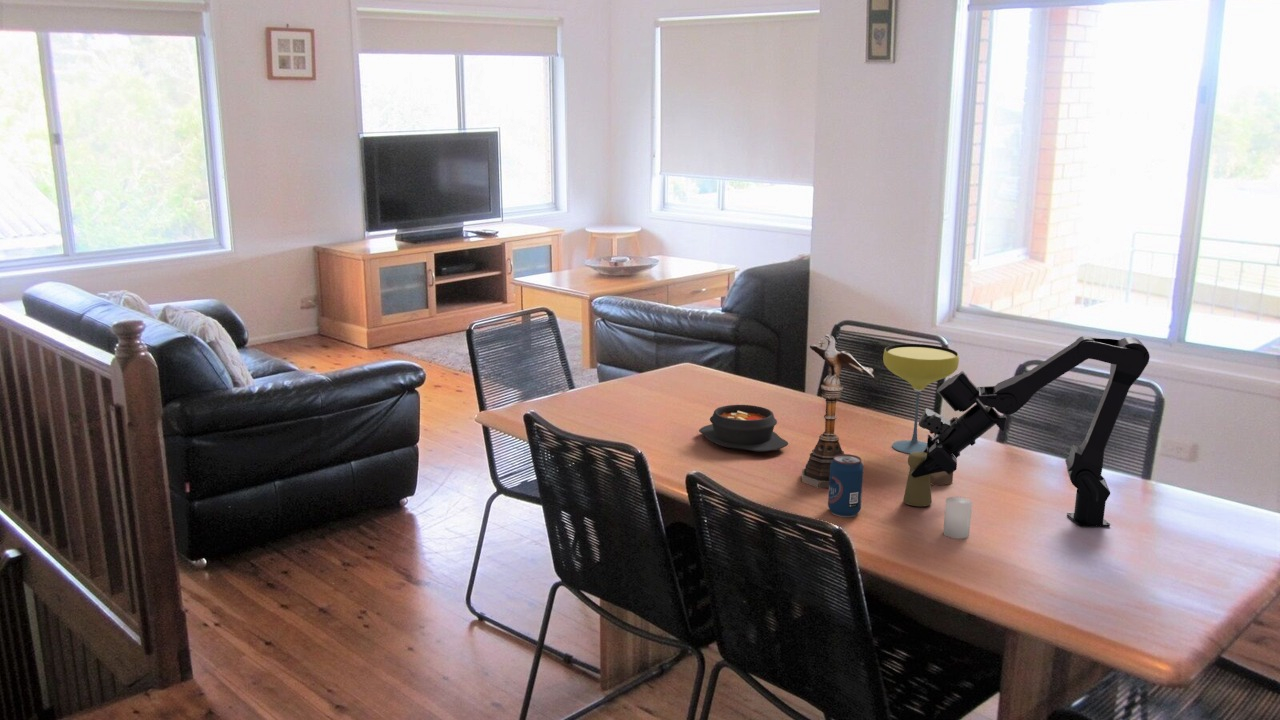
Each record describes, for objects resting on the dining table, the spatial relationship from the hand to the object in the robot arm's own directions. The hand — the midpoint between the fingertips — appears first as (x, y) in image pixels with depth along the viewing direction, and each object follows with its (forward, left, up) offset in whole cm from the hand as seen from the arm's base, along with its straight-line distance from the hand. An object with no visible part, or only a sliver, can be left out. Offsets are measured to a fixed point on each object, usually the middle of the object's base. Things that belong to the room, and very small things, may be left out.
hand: (912, 471), depth 228 cm
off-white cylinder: (-17, -4, -7) cm, 19 cm away
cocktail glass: (+38, -12, -7) cm, 40 cm away
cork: (0, -1, -7) cm, 7 cm away
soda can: (-5, +16, -7) cm, 18 cm away
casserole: (+42, +31, -7) cm, 52 cm away
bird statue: (+17, +14, -7) cm, 23 cm away
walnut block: (+14, -10, -7) cm, 18 cm away
